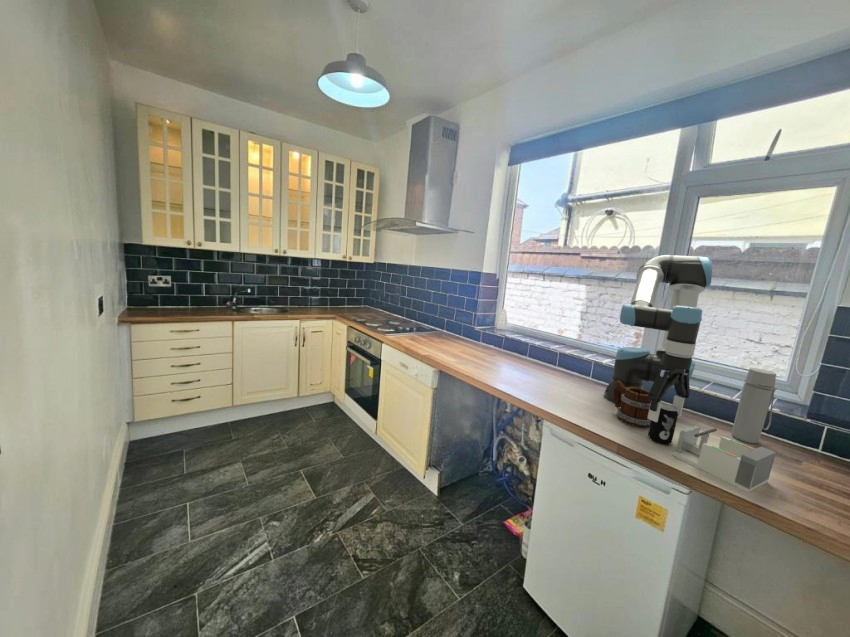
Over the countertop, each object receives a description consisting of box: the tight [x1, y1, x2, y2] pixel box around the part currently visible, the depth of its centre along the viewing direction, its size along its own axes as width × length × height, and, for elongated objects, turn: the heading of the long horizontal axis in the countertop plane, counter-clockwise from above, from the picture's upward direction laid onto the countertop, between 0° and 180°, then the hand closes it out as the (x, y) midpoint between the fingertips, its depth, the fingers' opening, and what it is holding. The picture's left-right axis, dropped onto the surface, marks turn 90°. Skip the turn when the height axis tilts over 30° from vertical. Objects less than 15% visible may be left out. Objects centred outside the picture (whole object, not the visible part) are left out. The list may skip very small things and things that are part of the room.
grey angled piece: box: [675, 425, 718, 456], centre depth 102 cm, size 12×7×8 cm, turn 117°
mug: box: [614, 380, 651, 429], centre depth 126 cm, size 12×14×15 cm
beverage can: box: [647, 402, 678, 446], centre depth 111 cm, size 7×7×12 cm
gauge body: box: [672, 436, 777, 493], centre depth 97 cm, size 12×18×9 cm, turn 27°
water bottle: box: [731, 367, 778, 444], centre depth 116 cm, size 9×8×25 cm
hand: (664, 417), depth 110 cm, fingers open, 13 cm apart
